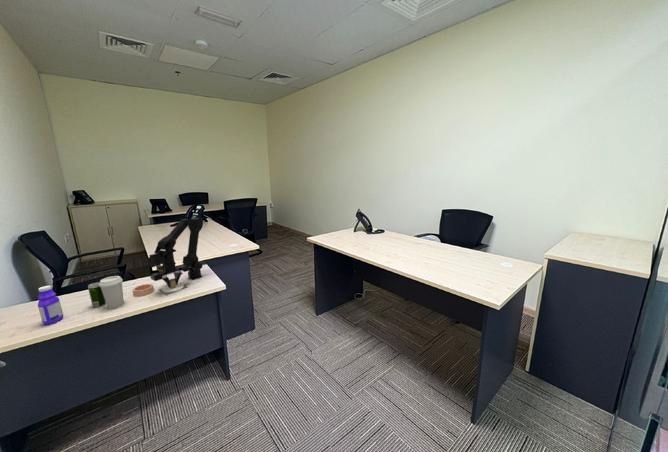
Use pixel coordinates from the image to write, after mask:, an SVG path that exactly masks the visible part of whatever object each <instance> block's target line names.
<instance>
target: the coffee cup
mask: <svg viewBox="0 0 668 452" xmlns="http://www.w3.org/2000/svg"><path fill="white" fill-rule="evenodd" d="M99 282H100V283H99V286H100V287H101V289H102V292H103V295H104V298H105V300H106V305H107V308H108V309H109V310H111V309H112V310H113V309H116V308H117V309H118V308H120V307H123V305H125V300H124V291H123V282H124V280H123V278H122V277H121V276H119V275H114V276H113V275H112V276H107V277H105V278H102V279H100V281H99Z"/></svg>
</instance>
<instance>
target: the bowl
mask: <svg viewBox="0 0 668 452" xmlns="http://www.w3.org/2000/svg"><path fill="white" fill-rule="evenodd" d="M154 291H155V286H154V284H153V283H144V284H140V285H138V286H136V287H133V289H132V295H133V296H134V297H144V296H148V295H151V294H153V293H154Z"/></svg>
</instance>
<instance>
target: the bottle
mask: <svg viewBox="0 0 668 452" xmlns="http://www.w3.org/2000/svg"><path fill="white" fill-rule="evenodd" d="M37 299H38V303H37V308H38V312H39V316H40V318H41V322H42V324H43V325H52V324H55V323H57V322H59V321H61V320H62V319H63V318H64V312H63V308H62V304H61V300H60V298H59V297H58V296H57V293H56V292H54V290H53V288H52V285H44V286H41V287H39V288H38V297H37Z"/></svg>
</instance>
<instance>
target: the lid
mask: <svg viewBox="0 0 668 452" xmlns="http://www.w3.org/2000/svg"><path fill="white" fill-rule="evenodd" d="M169 282H170V287H168V285H166V286H164V287H162V288H163V289H162V288H161V289H162V291H163V292H164V293H171V292H174V293H177V292H179V290H180V291H182V290H181V289H182V288H183V287H184V285H185V284H184V283H181V282H178V284H177V285H176V280H175V277H174V278H169ZM176 291H177V292H176ZM164 293H163V294H164Z"/></svg>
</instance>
